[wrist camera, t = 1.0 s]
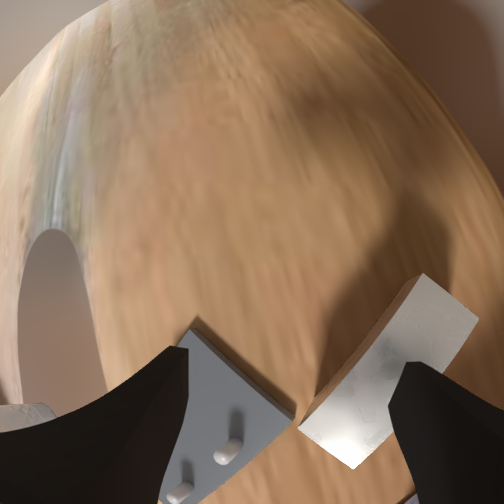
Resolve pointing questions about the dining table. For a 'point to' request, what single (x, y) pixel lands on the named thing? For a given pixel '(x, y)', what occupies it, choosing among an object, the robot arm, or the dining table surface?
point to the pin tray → (218, 424)
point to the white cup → (23, 416)
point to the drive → (386, 368)
